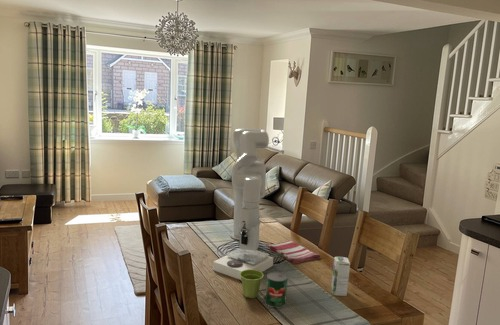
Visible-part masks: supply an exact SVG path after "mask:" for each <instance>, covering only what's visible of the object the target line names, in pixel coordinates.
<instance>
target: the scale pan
mask: <svg viewBox="0 0 500 325" xmlns="http://www.w3.org/2000/svg"><path fill="white" fill-rule="evenodd" d="M226 255H227V256H228V257H231V258H234V259H238V260H241V261H244V262H247V263H250V264H253V265H255V264H256V263H258V262H260V261H262V260H264V259H265V258H267V257H269V256H270V253H267V252H264V251H261V250H258V249H257V250H256V251H253V250H245V249H240V247H238V248H237V249H235V250H233V251H230V252H229V253H227V254H226ZM270 257H271V256H270Z"/></svg>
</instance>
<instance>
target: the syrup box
mask: <svg viewBox="0 0 500 325" xmlns="http://www.w3.org/2000/svg"><path fill="white" fill-rule="evenodd" d="M350 269H351V262H350V259H349V258H348V257H344V256H334V258H333V268H332V277H331V285H330V289H331V293H332V295H333V296H340V297H348V287H349V278H350Z"/></svg>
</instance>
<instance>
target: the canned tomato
mask: <svg viewBox="0 0 500 325" xmlns="http://www.w3.org/2000/svg"><path fill="white" fill-rule="evenodd" d="M287 286H288V275H287V274H286V273H285V272H284V273H283V271H270V272H268V273H267V274H266V286H265V287H266V288H265V302H264V303H265V305H267V306H268V305H269V306H268V307H270V306H271V307H270V308H273V307H281V308H283V307H285V306H286V304H287V302H286V301H287V290H288V287H287ZM284 305H285V306H284Z"/></svg>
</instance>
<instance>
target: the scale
mask: <svg viewBox="0 0 500 325" xmlns="http://www.w3.org/2000/svg"><path fill="white" fill-rule="evenodd" d="M273 266H274V256H269V257H267V258H265V259H264V260H262V261H260V262H258V263H256V264H255V265H253V264H250V263H247V262H244V261H241V260H238V259H234V258H231V257H228V256H227V254H226V255H225V256H222V257H220V258H218V259H216V260H213V264H212V270H213V271H214V272H217V273H220V274H223V275H226V276H229V277H231V278H233V279H237V280H239V281H242V280H241V277H240V272H242V271H244V270H258V271H260V272H262V273H263V272H265V271H266V270H268V269H270V268H272V267H273Z"/></svg>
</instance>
